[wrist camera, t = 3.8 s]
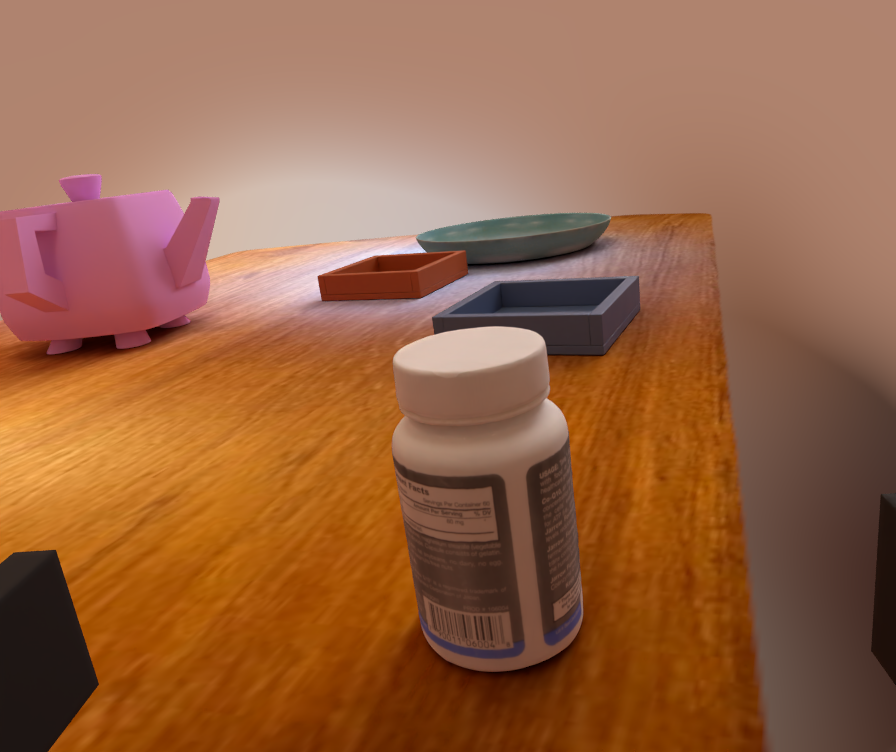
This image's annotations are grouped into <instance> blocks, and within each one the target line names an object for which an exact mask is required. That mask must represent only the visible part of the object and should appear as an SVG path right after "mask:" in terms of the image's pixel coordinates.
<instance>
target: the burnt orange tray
mask: <svg viewBox="0 0 896 752" xmlns="http://www.w3.org/2000/svg"><path fill="white" fill-rule="evenodd" d="M467 268H468V267H467V258H466V251H465V250H463V251H447V252H430V253H414V254H397V255H381V256H373V257H370V258H367V259H364V260H362V261H359V262H356V263H353V264H350V265H348V266H345V267H342V268H339V269H336V270H333V271H331V272H328V273H325V274H322V275H319V276H318V282H319V288H320V293H321V299H322V301H334V300H367V299H400V298H421V297H423V296H425V295H427V294H429V293H431V292H433V291H435V290H437V289H439V288H441V287H443V286H445V285H447V284H449V283H451V282H453V281H455V280H457V279H459V278H461V277H463V276H465V275H467V274H468V269H467Z"/></svg>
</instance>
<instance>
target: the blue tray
mask: <svg viewBox="0 0 896 752" xmlns="http://www.w3.org/2000/svg"><path fill="white" fill-rule="evenodd" d="M639 310H640V292H639V276H628V277H627V276H623V277H597V278H572V279H546V280H521V281H495V282H493V283H491V284H489V285H488V286H486V287H484V288H482V289H481V290H479V291H477V292H475V293H474V294H472V295H470V296H468V297H467V298H465V299H463V300H462V301H460V302H458V303H456V304H455V305H453V306H451V307H449V308H448V309H446V310H444V311H442V312H441V313H439V314H437V315H435V316H434V317H432V320H433V328H434V335H436V334H439V333H443V332H448V331H455V330H461V329H469V328H479V327H494V326H497V327H514V328H521V329H527V330H531V331H533V332H536V333H538V334H539V335H540V336H542V337H543V339H544V341H545V344H546V350H547V354H554V355H604V354H605V353H606V352H607V350H608V349H609V348H610V347H611V345H612V344H613V343H614V342H615V340H616V339H617V338H618V337H619V335H620V334H621V333H622V332H623V330H624V329H625V328H626V327H627V325H628V324H629V323H630V322H631V320H632V319H633V318H634V317H635V315H636V314H637V313H638V312H639Z"/></svg>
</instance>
